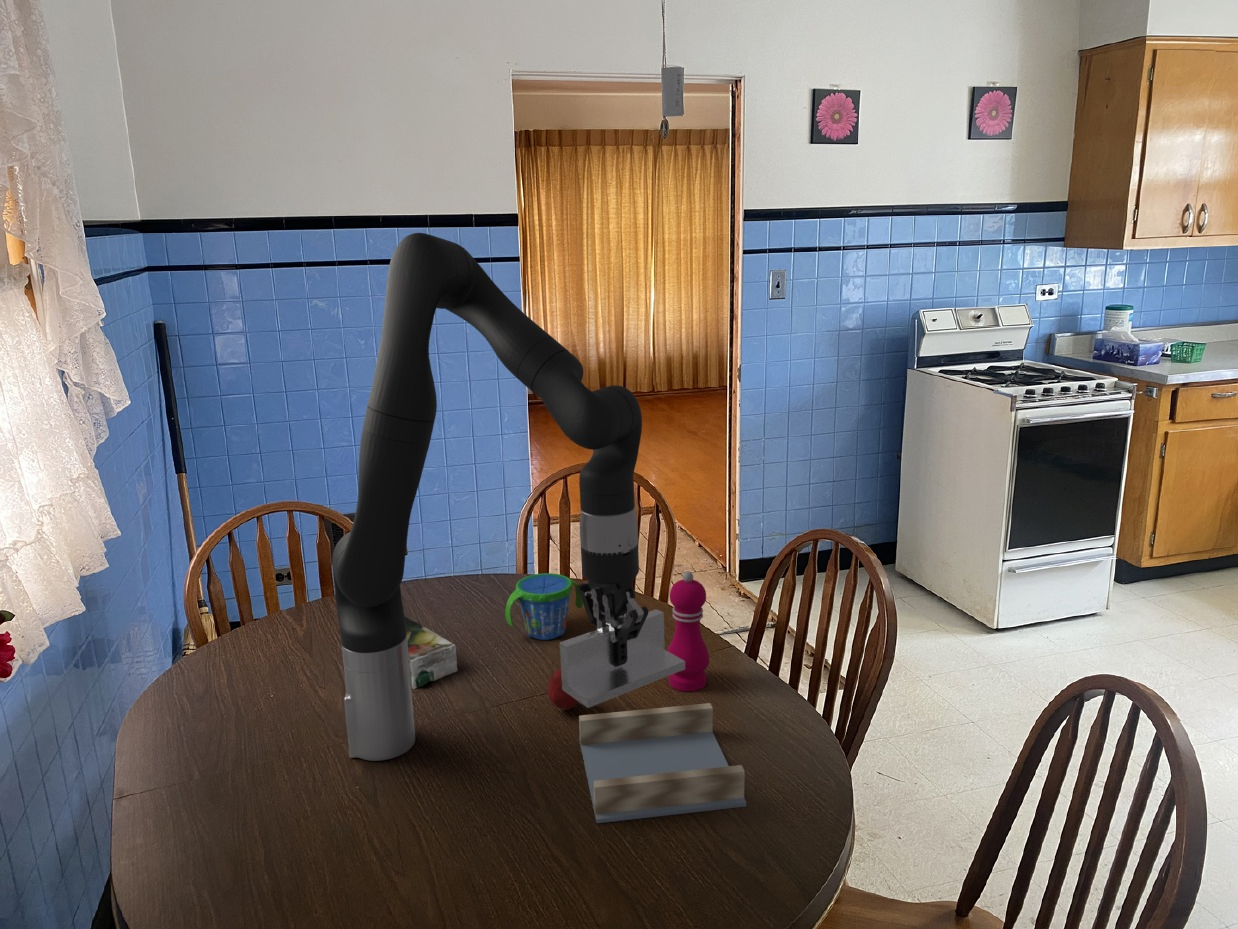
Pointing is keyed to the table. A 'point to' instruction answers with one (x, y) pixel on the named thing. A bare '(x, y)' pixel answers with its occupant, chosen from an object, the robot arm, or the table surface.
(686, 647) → the pepper mill
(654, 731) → the walls
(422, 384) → the robot arm
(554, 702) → the onion
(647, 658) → the bracket
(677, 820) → the table surface
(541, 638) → the snack cup
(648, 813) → the board
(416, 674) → the juice carton
